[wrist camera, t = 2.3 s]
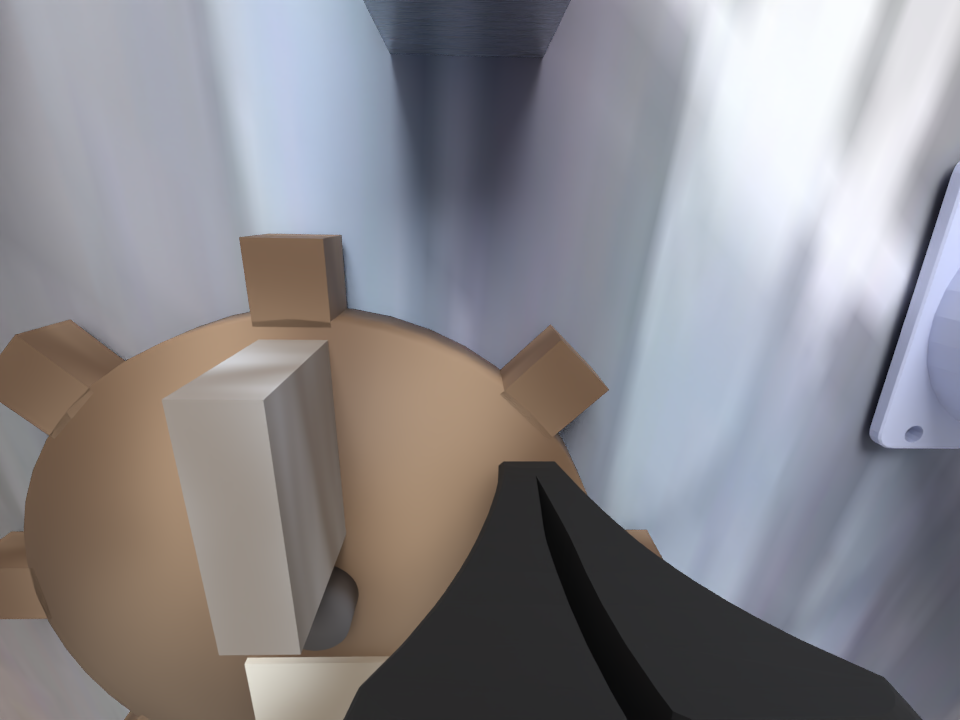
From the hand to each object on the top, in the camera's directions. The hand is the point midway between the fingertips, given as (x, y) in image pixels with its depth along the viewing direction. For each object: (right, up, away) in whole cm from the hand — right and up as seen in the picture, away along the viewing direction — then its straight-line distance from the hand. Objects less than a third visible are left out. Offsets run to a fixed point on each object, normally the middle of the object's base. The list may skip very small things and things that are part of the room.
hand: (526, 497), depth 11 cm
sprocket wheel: (-6, -3, +4) cm, 7 cm away
